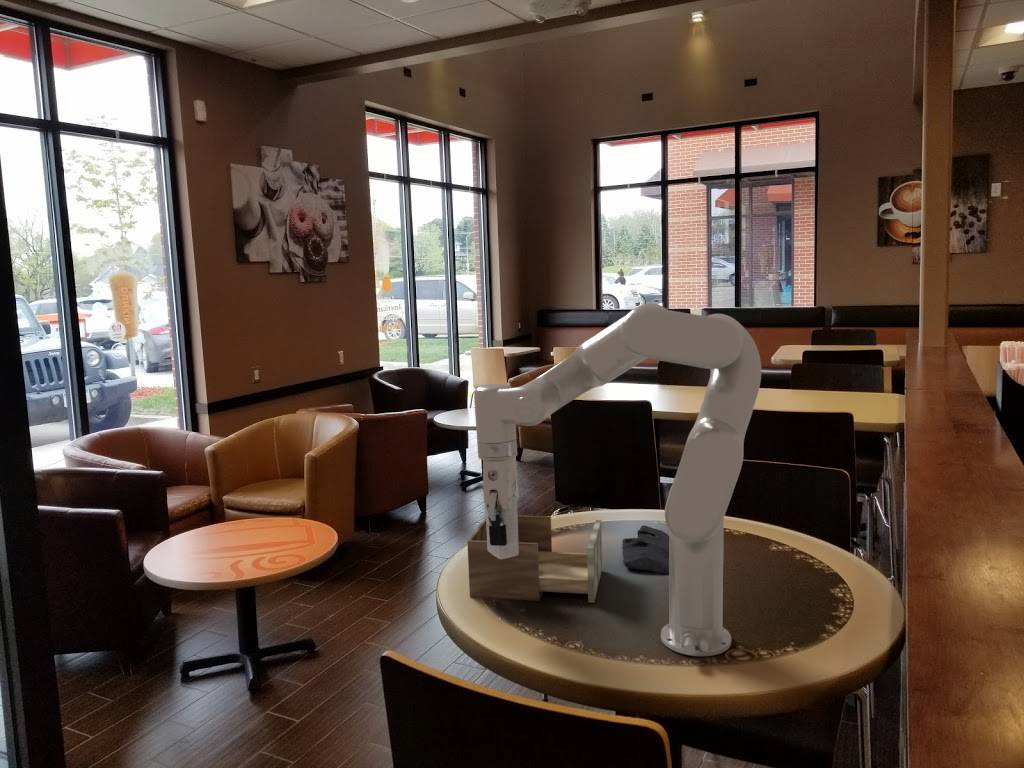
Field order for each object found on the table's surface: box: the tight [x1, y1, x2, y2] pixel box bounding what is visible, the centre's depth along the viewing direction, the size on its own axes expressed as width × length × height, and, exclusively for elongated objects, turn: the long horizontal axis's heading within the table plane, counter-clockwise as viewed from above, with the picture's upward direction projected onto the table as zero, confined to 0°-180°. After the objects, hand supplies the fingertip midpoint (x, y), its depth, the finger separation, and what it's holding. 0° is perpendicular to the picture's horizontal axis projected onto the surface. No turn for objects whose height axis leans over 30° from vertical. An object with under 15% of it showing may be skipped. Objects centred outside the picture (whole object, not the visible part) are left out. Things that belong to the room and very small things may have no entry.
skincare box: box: [485, 495, 519, 559], centre depth 147 cm, size 6×4×12 cm
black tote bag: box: [621, 525, 669, 575], centre depth 181 cm, size 15×22×5 cm
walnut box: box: [466, 514, 553, 602], centre depth 168 cm, size 18×15×12 cm
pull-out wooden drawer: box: [538, 519, 603, 604], centre depth 166 cm, size 18×15×12 cm
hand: (503, 537), depth 148 cm, fingers closed on skincare box, 7 cm apart
